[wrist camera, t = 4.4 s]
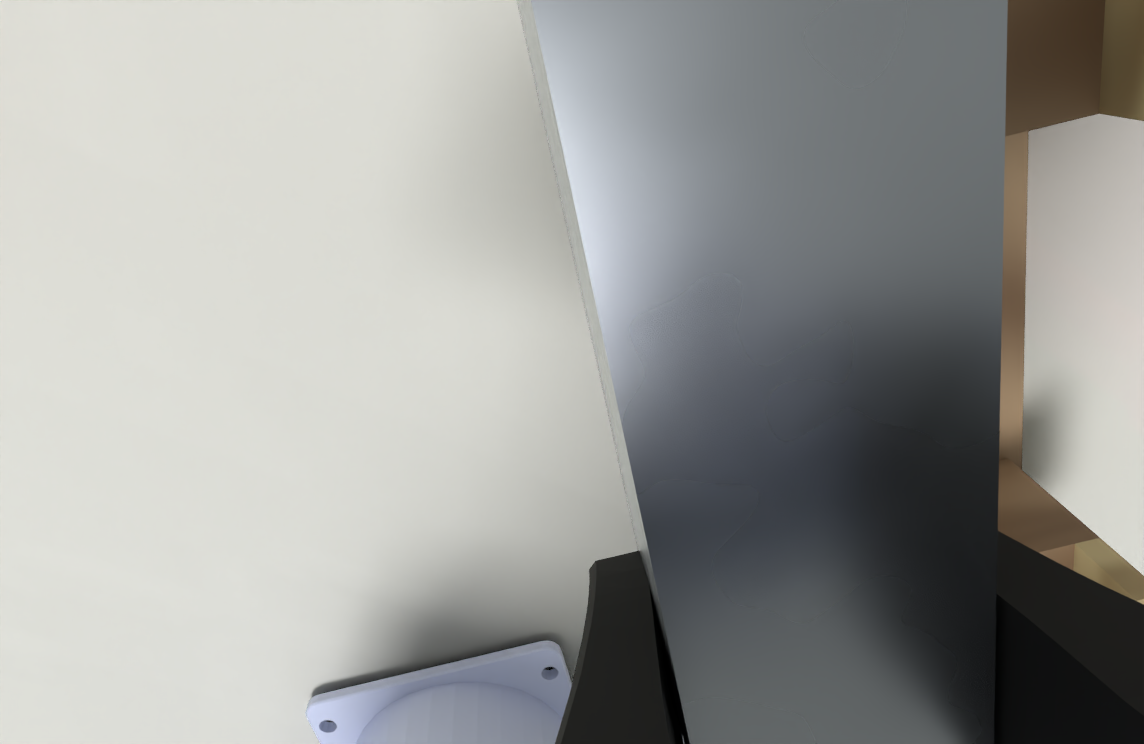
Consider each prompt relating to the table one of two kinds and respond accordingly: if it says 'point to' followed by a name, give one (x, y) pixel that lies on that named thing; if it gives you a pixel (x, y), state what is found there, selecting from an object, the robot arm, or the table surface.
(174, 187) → the table surface
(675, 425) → the rail
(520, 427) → the table surface
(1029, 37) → the rack
